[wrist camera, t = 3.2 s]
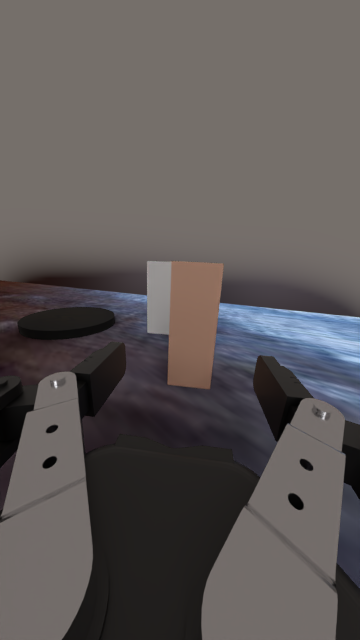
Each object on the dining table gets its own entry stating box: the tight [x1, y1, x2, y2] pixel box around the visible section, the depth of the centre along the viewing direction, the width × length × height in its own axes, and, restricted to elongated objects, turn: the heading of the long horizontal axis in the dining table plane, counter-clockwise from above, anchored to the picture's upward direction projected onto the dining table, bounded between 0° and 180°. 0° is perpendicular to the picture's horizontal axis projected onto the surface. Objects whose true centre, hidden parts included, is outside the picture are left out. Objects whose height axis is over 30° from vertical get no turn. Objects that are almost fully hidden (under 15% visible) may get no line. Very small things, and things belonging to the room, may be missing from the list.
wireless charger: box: [18, 307, 115, 340], centre depth 41 cm, size 18×18×2 cm
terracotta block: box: [167, 261, 224, 389], centre depth 22 cm, size 5×5×14 cm
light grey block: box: [147, 261, 171, 335], centre depth 38 cm, size 5×5×14 cm
